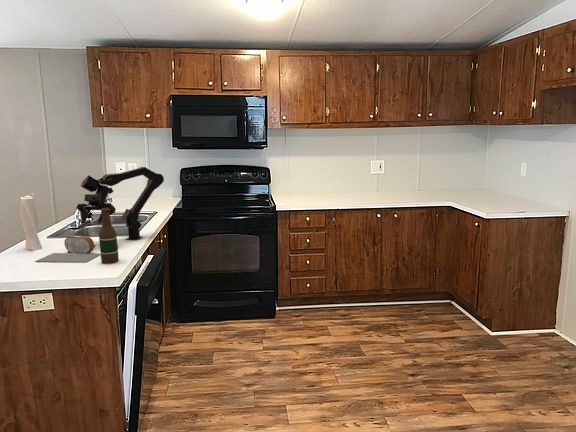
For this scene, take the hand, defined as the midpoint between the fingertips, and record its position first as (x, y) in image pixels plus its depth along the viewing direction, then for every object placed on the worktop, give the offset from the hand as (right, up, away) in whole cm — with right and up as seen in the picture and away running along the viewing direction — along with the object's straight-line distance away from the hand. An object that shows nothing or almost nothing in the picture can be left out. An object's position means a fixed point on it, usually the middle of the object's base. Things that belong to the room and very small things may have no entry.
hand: (90, 223), depth 230 cm
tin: (-3, -14, -5) cm, 16 cm away
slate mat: (-4, -16, -14) cm, 21 cm away
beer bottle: (+17, -17, -21) cm, 32 cm away
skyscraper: (-30, -13, +5) cm, 33 cm away
